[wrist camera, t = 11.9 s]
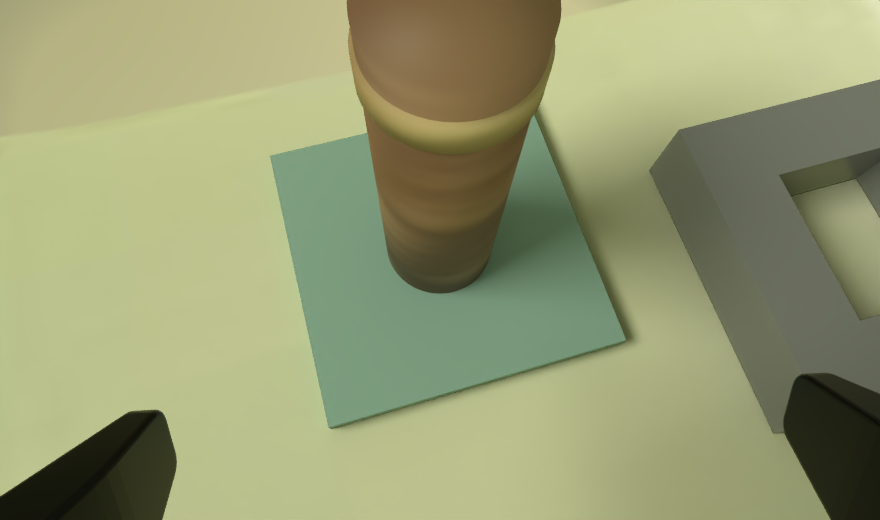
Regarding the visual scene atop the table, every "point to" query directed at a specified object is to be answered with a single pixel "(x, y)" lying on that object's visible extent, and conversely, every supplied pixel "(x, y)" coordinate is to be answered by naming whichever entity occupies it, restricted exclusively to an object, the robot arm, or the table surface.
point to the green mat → (432, 314)
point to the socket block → (777, 234)
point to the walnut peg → (447, 121)
